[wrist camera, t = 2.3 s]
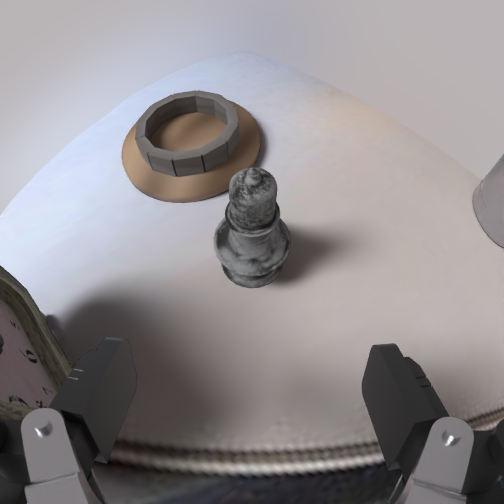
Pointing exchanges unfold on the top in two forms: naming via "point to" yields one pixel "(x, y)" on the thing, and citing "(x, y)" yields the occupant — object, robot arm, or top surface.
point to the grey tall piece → (252, 230)
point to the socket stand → (190, 147)
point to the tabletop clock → (26, 353)
